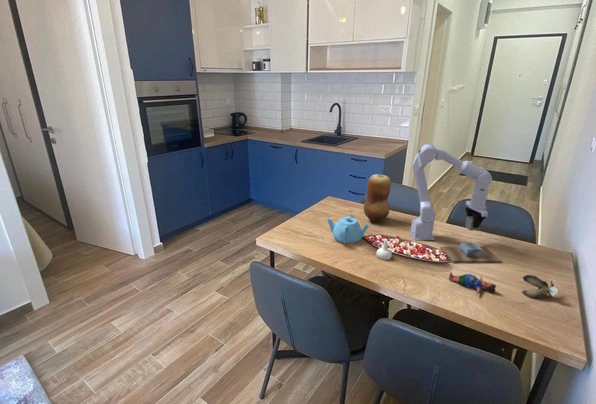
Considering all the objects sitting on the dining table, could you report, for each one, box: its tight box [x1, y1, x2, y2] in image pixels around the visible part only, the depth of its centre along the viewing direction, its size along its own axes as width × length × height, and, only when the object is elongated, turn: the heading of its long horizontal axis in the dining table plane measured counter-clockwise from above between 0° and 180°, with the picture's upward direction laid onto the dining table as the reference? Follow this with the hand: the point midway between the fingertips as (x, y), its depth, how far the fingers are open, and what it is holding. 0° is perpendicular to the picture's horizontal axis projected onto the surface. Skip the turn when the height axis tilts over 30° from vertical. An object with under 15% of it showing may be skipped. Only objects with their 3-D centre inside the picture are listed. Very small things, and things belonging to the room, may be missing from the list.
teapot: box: [327, 214, 370, 244], centre depth 150 cm, size 15×15×11 cm
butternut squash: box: [363, 173, 392, 222], centre depth 167 cm, size 14×13×25 cm
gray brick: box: [464, 215, 482, 231], centre depth 144 cm, size 4×4×5 cm
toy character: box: [448, 271, 497, 296], centre depth 115 cm, size 12×5×15 cm
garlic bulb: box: [375, 239, 393, 261], centre depth 133 cm, size 6×6×8 cm
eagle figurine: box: [521, 274, 559, 298], centre depth 109 cm, size 8×7×9 cm
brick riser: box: [439, 242, 503, 264], centre depth 135 cm, size 20×12×4 cm, turn 90°
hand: (472, 225), depth 144 cm, fingers closed on gray brick, 4 cm apart
